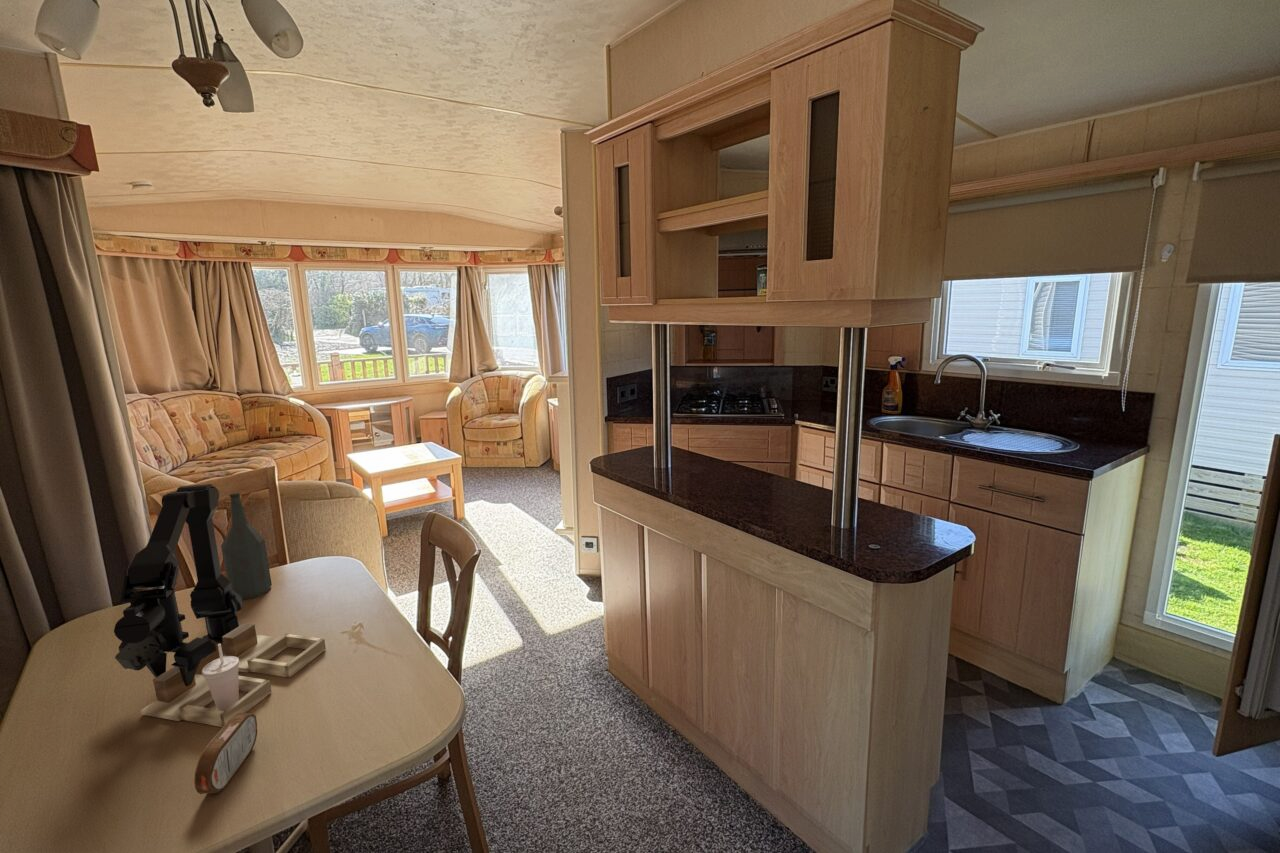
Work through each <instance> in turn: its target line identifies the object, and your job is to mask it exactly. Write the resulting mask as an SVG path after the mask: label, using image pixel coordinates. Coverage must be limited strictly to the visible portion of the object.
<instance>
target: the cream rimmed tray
mask: <svg viewBox="0 0 1280 853" xmlns="http://www.w3.org/2000/svg"><path fill="white" fill-rule="evenodd" d="M238 680H239V691H241V692H247V693H246V694H245V695H244V696H242V697H241V698H239V701H237V702H236V703H235V704H233V705H232V706H231V707H229V708H228V709H227V710H225V711H220V710H217V709H215V708H208V707H206V706H207V705H209V704H211V702H214V699H213V697H212V694H211V692H210V689H209V686H208V684H207V681H206V679H205V678H204V677H203V676H202V674H198V673H196V674H195V676H194V679H193V682H192V684H191V685H189V686H185V684H184V681H183V679H182V676H181V673H180V670H179V667H175V666H172V667H171V668H169V669H168V670H166V672H164V673H163V674H161V675H160V676H158V677H156V678H155V677H154V678H153V679H152V682H153V686H154V691H155V695H156V696H155V697H156V700H154V701H152V702H151V703H150V704H148V705H147V706H145V707H143V708H142V709H141V710H140V713H141V715H142V716H143V715H144V716H148V717H149V716H150V717H153V718H154V717H155V718H158V719H165V720H171V721H176V722H180V721H182V720H183V721H188V722H194V723H199V724H204V725H209V726H213V727H214V726H215V727H219V728H220V727H221V728H223V726H224V725H225V724H226V723H227V722H228V721H229V719H230V718H231V717H232V716H233V715H234V714H236V713H248V711H250V710H251V709H252V708H253V707H255V706H256V705H257V704H258V703H260V702H261V701H262V700H264V699H265V698H266V697H267V696H268V695H270V694H271V693H273V692H272V686H271V681H270V680H269V679H264V678H256V677H250V676H243V675H238Z"/></svg>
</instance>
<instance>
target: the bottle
mask: <svg viewBox="0 0 1280 853" xmlns="http://www.w3.org/2000/svg"><path fill="white" fill-rule="evenodd" d="M240 495H241V493H240V492H239V491H234V492H231V493H230V494H229V498H230V514H231V518H230V519H231V527H230V528H229V530H228V532H227V533H226V536H225V538H224V540H223V541H222V543H221V545H220V548H221V553H222V558H223V559H222V560H223V564H224V570H225V577H226V578H227V579H228V580H229V581H230V582H231V585H232V589H233V591H235V592H236V593H237V594H239V595H240V596H241V597H242V600H250V598H251V599H254V598H253V597H255V598H257V596H258V597H260V596H261V594H262V595H263V593H264V594H266V593H267V592H268V591H269V590H270V589H271V587H272V585H273V584H272V577H271V572H270V564H269V559H268V554H267V549H266V548H267V547H266V542H265V541H266V540H265V538H264V537H263V536H262V534H260V533H259V532H258V531H257V530H256V529H255V528H254V527H253V526H252V525H250V524H249V522H248V519H247V517H246V516H247V515H246V512H245V510H244V507H243V504H242V500H241V496H240ZM269 588H270V589H269ZM265 592H266V593H265ZM259 595H260V596H259Z"/></svg>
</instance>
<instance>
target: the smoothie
mask: <svg viewBox="0 0 1280 853" xmlns="http://www.w3.org/2000/svg"><path fill="white" fill-rule="evenodd" d="M217 649H218V656H219V657H218V658H216V659H213V660H211V661H210V662H207V663H206V664H205V665H204V666H203V667H202V669H201V675H202V676H203V677H204V678H205V679H206V681H207V684H208V686H209V689H210V692H211V694H212V697H213V699H214V700H213V702H214V704H215V707H216V710H220V711H225V710H227V709H228V708H229V707H231V706H232V705H233V704H235V703H236V702H237V701H239V700H240V696H239V695H240V694H239V692H240V690H239V680H238V676H239V671H238V667H239V665H240V662H239V659H238V658H237V657H235V656H226V657H223V656H224V654H223V649H222V644H221V643H218V644H217Z"/></svg>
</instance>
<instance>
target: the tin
mask: <svg viewBox="0 0 1280 853" xmlns="http://www.w3.org/2000/svg"><path fill="white" fill-rule="evenodd" d="M257 736H258V721H257V715H255V714H254V713H251V712H249V713H248V712H246V713H236V714H234V715H233V716H232V717H231V718H230V719H229V721H228V722H227V723H226V724H225V725H224V726H223V727H221V729H220V730H219V731H218V732H217V734H216V735H214V737H213V738H212V739H211V740H210V741H209V742H208V743H207V745H206V746H205V748H204V749H203V751H202V753H201V754H200V756H199V759H198V761H197V764H196V768H195V772H194V782H193V783H194V788H195V791H196V793H198V794H199V795H204V794H216V793H220V792H221V791H222V790H224V789H225V787H226V786H228V784H229V783H230V781H231V780H232V779H233V777H234V776H235V774H236V773H237V772H238V771H239V770H240V768H241V767H242V766H243V764H244V762H245V761H246V760H247V758H249V756H250V754H251V753H252V751H253V748H254V747H255V744H256V741H257Z"/></svg>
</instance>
